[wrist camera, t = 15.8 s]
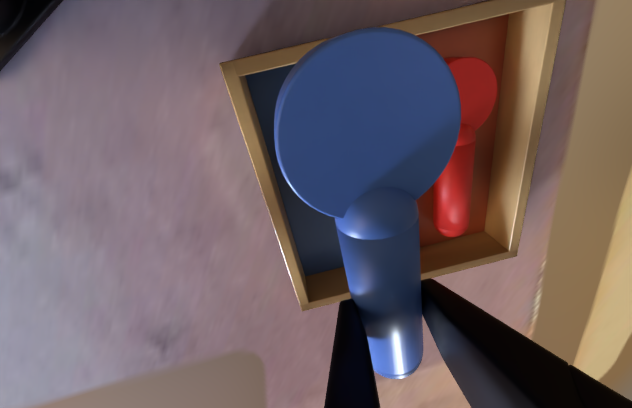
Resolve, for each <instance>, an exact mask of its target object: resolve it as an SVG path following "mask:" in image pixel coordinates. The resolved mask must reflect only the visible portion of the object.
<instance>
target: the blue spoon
mask: <svg viewBox="0 0 632 408" xmlns="http://www.w3.org/2000/svg"><path fill="white" fill-rule="evenodd" d="M460 123H461V102H460V95H459V90H458V87H457V84H456V80H455V78H454V76H453V74H452V72H451V70H450V68H449V66H448V65H447V63H446V62H445V60H444V59H443V57H442V56H441V55H440V54H439V53H438V52H437V51H436V50H435V49H434V48H433V47H432V46H431V45H429V44H428V43H427V42H426V41H424V40H423V39H421V38H419V37H417V36H415V35H414V34H411V33H408V32H405V31H403V30H400V29H394V28H388V27H370V28H363V29H357V30H354V31H351V32H348V33H345V34H342V35H339V36H336V37H333V38H330V39H328V40H326V41H324V42H322V43H320V44H318V45H317V46H315V47H314V48H313V49H311V50H310V51H308V52H307V53H306V54H305V55H304V56H303V57H302V58H301V59H300V60H299V61H298V62H297V63H296V64H295V66H294V67H293V68H292V69H291V71H290V72H289V74H288V76H287V77H286V79H285V81H284V83H283V85H282V87H281V89H280V92H279V95H278V99H277V102H276V108H275V115H274V140H275V151H276V155H277V160H278V163H279V166H280V169H281V171H282V174H283V175H284V177H285V179H286V181H287V183H288V184H289V186H290V187H291V188H292V190H293V191H294V192H295V193H296V194H297V196H298V197H299V198H300V199H301V200H303V201H304V202H305V203H306V204H308V205H309V206H310V207H312V208H314V209H315V210H317V211H319V212H321V213H323V214H326V215H328V216H331V217H335V224H336V228H337V233H338V238H339V243H340V247H341V252H342V257H343V262H344V266H345V271H346V276H347V281H348V285H349V290H350V295H351V298H352V299H353V300H354V302H355V304H356V306H357V309H358V312H359V315H360V317H361V320H362V323H363V326H364V328H365V331H366V335H367V339H368V343H369V349H370V354H371V359H372V365H373V370H374V371H375V372H377V373H378V374H380V375H382V376H384V377H386V378H391V379H401V378H405V377H407V376H409V375H411V374H412V373H414V371H415V370H416V369H417V368H418V366H419V365H420V363H421V360H422V356H423V326H422V297H421V268H420V239H419V212H418V206H417V202H416V200H417V199H418V198H420V197H421V196H422V195H423V194H424V193H425V192H426V191H427V190H428V189H429V188H430V187H431V186H432V185H433V184H434V183H435V182H436V180H437V179H438V178H439V177H440V175H441V174H442V172H443V171H444V169H445V167H446V166H447V164H448V162H449V160H450V158H451V156H452V154H453V152H454V149H455V146H456V143H457V140H458V135H459V131H460Z"/></svg>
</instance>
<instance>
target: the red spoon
mask: <svg viewBox="0 0 632 408" xmlns="http://www.w3.org/2000/svg"><path fill="white" fill-rule="evenodd" d="M444 60H445V62H446V63H447V65H448V66H449V68H450V70H451V72H452V74H453V76H454V78H455V80H456V84H457V87H458V90H459V95H460V102H461V123H460V131H459V135H458V140H457V143H456V146H455V149H454V152H453V154H452V156H451V158H450V160H449V162H448V164H447V166H446V167H445V169H444V171H443V172H442V174H441V175H440V177H439V178H438V179H437V180H436V182H435V183H434V184H433V224H434V226H435V229H436V230H437V231H438V232H439V233H440V234H442V235H444V236H447V237H457V236H460V235H461V234H463V233H464V232H465V231H466V230H467V228H468V226H469V219H470V206H471V193H472V181H473V168H474V155H475V143H476V134H475V131H476V130H477V129H478V128H479V127H480V126H481V125H482V124H483V123H484V122H485V121H486V119H487V118H488V116H489V115H490V113H491V111H492V109H493V107H494V104H495V101H496V98H497V89H498V86H497V79H496V75H495V73H494V71H493V69H492V68H491V67H490V65H489V64H488V63H486V62H485V61H484V60H482V59H479V58H476V57H448V58H444Z"/></svg>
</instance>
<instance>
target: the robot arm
mask: <svg viewBox="0 0 632 408" xmlns="http://www.w3.org/2000/svg"><path fill="white" fill-rule="evenodd" d="M62 1H63V0H0V71H1V70H2V68H3V67H4V66H5V65H6V64H7V63H8V62H9V61H10V59H11V58H12V57H13V56H14V55H15V54H16V53H17V52H18V50H19V49H20V48H21V47H22V46H23V45H24V44H25V43H26V41H27V40H28V39H29V38H30V37H31V36H32V35H33V34H34V32H35V31H36V30H37V29H38V28H39V27H40V26H41V25H42V23H43V22H44V21H45V20H46V19H47V18H48V17H49V16H50V14H51V13H52V12H53V11H54V10H55V9H56V8H57V7H58V5H59V4H60V3H61V2H62ZM421 297H422V314H423V317H424V319H425V321H426V323H427V325H428V327H429V330H430V332H431V334H432V336H433V338H434V341H435V343H436V345H437V347H438V349H439V351H440V353H441V356H442V358H443V360H444V361H445V363H446V365H447V367H448V368H449V370H450V372H451V374H452V375H453V377H454V379H455V380H456V382H457V384H458V385H459V387H460V389H461V391H462V392H463V394H464V396H465V397H466V399H467V401H468V402H469V404H470V406H471V408H632V401H631V400H629V399H627V398H625V397H624V396H622V395H620V394H618V393H617V392H615V391H613V390H611V389H610V388H608V387H607V386H605V385H603V384H602V383H600V382H598V381H597V380H595V379H593V378H592V377H590V376H589V375H587V374H585V373H584V372H582V371H580V370H579V369H577V368H576V367H574V366H572V365H568V363H567V362H566V361H564V360H562V359H561V358H559V357H558V356H556V355H554V354H553V353H551V352H550V351H548V350H546V349H545V348H543V347H541V346H540V345H538V344H537V343H535V342H533V341H532V340H530V339H529V338H527V337H525V336H524V335H522V334H521V333H519V332H517V331H516V330H514V329H512V328H511V327H509V326H508V325H506V324H504V323H503V322H501V321H500V320H498V319H496V318H495V317H493V316H491V315H490V314H488V313H487V312H485V311H483V310H482V309H480V308H479V307H477V306H475V305H474V304H472V303H471V302H469V301H467V300H466V299H464V298H462V297H461V296H459V295H458V294H456V293H454V292H453V291H451V290H450V289H448V288H446V287H445V286H443V285H442V284H440V283H438V282H437V281H435V280H433V279H431V278H427V279H424V280H421ZM324 408H380V403H379V397H378V392H377V386H376V381H375V376H374V370H373V365H372V359H371V354H370V349H369V343H368V339H367V335H366V331H365V328H364V326H363V323H362V320H361V317H360V315H359V312H358V309H357V306H356V304H355V302H354V300H353V299H352V298H350V299H347V300H343V301H341V302H340V305H339V311H338V318H337V325H336V332H335V338H334V345H333V352H332V358H331V365H330V372H329V379H328V385H327V392H326V399H325V406H324Z"/></svg>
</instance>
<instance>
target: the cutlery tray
mask: <svg viewBox="0 0 632 408" xmlns="http://www.w3.org/2000/svg"><path fill="white" fill-rule="evenodd" d="M565 4H566V0H489V1H485V2H481V3H476V4H472V5H468V6H464V7H459V8H455V9H451V10H446V11H442V12H438V13H433V14H429V15H425V16H420V17H416V18H412V19H407V20H403V21H399V22H395V23H390V24H386V25H382V26H377V27H388V28H394V29H400V30H403V31H405V32H408V33H411V34H414V35H415V36H417V37H419V38H421V39H423V40H424V41H426V42H427V43H428V44H429V45H431V46H432V47H433V48H434V49H435V50H436V51H437V52H438V53H439V54H440V55H441V56H442V57H443V59H444V58H448V57H476V58H479V59H482V60H484V61H485V62H486V63H488V64H489V65H490V67H491V68H492V69H493V71H494V73H495V75H496V79H497V86H498V89H497V98H496V101H495V104H494V107H493V109H492V111H491V113H490V115H489V116H488V118H487V119H486V121H485V122H484V123H483V124H482V125H481V126H480V127H479V128H478V129H477V130H476V131H475V134H476V143H475V155H474V168H473V181H472V193H471V206H470V219H469V226H468V228H467V230H466V231H465V232H464V233H463V234H461V235H460V236H457V237H447V236H444V235H442V234H440V233H439V232H438V231H437V230H436V229H435V226H434V224H433V185H432V186H431V187H430V188H429V189H428V190H427V191H426V192H425V193H424V194H423V195H422V196H421V197H420V198H418V199H417V200H416V202H417V206H418V212H419V239H420V268H421V280H424V279H427V278H434V277H438V276H441V275H445V274H449V273H453V272H457V271H461V270H465V269H469V268H473V267H476V266H480V265H484V264H488V263H492V262H496V261H500V260H504V259H507V258H511V257H515V256H517V252H518V247H519V241H520V236H521V231H522V226H523V221H524V216H525V210H526V205H527V200H528V195H529V190H530V185H531V179H532V174H533V169H534V164H535V159H536V154H537V148H538V143H539V138H540V133H541V128H542V123H543V117H544V112H545V107H546V102H547V97H548V92H549V86H550V81H551V76H552V71H553V66H554V61H555V55H556V50H557V45H558V40H559V35H560V30H561V24H562V19H563V14H564V9H565ZM334 37H336V36H334ZM330 38H333V37H330ZM330 38H326V39H321V40H317V41H313V42H308V43H304V44H300V45H295V46H291V47H287V48H282V49H278V50H274V51H270V52H265V53H261V54H257V55H252V56H248V57H244V58H239V59H235V60H231V61H226V62H222V63H220V64H219V65H220V68H221V71H222V74H223V77H224V80H225V83H226V86H227V89H228V92H229V95H230V98H231V101H232V104H233V107H234V110H235V113H236V116H237V119H238V122H239V125H240V128H241V131H242V134H243V137H244V140H245V143H246V146H247V149H248V152H249V155H250V158H251V161H252V164H253V167H254V170H255V173H256V176H257V179H258V182H259V185H260V188H261V191H262V194H263V197H264V200H265V203H266V206H267V209H268V212H269V215H270V218H271V221H272V224H273V227H274V230H275V233H276V236H277V239H278V242H279V245H280V248H281V251H282V254H283V257H284V260H285V263H286V266H287V269H288V272H289V275H290V278H291V281H292V284H293V287H294V290H295V293H296V296H297V299H298V302H299V305H300V308H301V311H305V310H309V309H313V308H317V307H321V306H325V305H329V304H333V303H336V302H340V301H343V300H347V299H350V298H351V295H350V290H349V285H348V281H347V276H346V271H345V266H344V262H343V257H342V252H341V247H340V243H339V238H338V233H337V228H336V224H335V217H331V216H328V215H326V214H323V213H321V212H319V211H317V210H315V209H314V208H312V207H310V206H309V205H308V204H306V203H305V202H304V201H303V200H301V199H300V198H299V197H298V196H297V194H296V193H295V192H294V191H293V190H292V188H291V187H290V186H289V184H288V183H287V181H286V179H285V177H284V175H283V174H282V171H281V169H280V166H279V163H278V160H277V155H276V151H275V140H274V115H275V108H276V102H277V99H278V95H279V92H280V89H281V87H282V85H283V83H284V81H285V79H286V77H287V76H288V74H289V72H290V71H291V69H292V68H293V67H294V66H295V64H296V63H297V62H298V61H299V60H300V59H301V58H302V57H303V56H304V55H305V54H306V53H307V52H308V51H310V50H311V49H313V48H314V47H315V46H317V45H318V44H320V43H322V42H324V41H326V40H328V39H330Z"/></svg>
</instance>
